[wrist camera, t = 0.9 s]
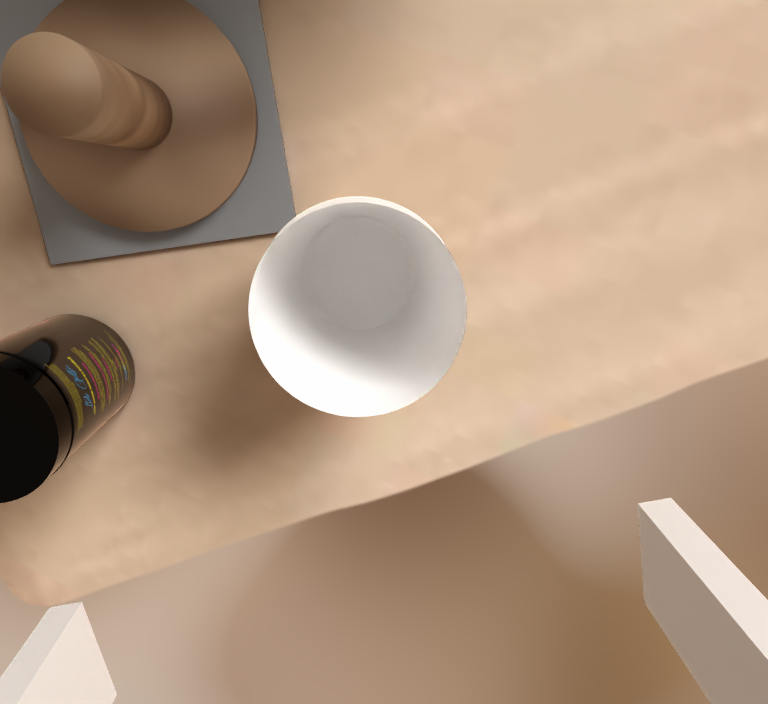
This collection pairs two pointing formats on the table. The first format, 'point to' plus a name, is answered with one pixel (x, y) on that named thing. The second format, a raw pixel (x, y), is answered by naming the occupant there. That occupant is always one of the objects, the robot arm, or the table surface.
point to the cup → (357, 307)
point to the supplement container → (56, 395)
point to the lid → (134, 110)
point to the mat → (232, 220)
